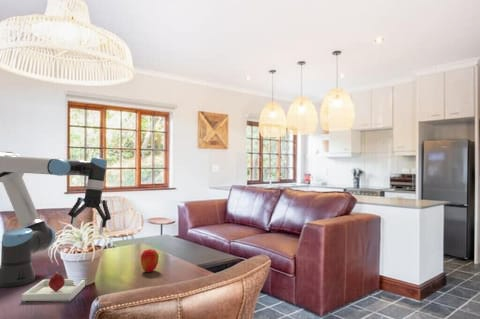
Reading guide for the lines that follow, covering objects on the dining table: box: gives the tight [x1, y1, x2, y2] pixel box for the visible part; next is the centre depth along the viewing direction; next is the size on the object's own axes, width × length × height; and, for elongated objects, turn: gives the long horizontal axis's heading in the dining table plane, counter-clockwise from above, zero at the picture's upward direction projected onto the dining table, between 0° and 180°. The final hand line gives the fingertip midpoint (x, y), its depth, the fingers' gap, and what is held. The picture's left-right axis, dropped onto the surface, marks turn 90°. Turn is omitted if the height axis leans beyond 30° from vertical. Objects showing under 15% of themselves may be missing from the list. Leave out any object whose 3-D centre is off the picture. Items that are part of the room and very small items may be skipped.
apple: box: [140, 249, 159, 273], centre depth 172 cm, size 9×9×12 cm
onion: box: [49, 271, 65, 292], centre depth 139 cm, size 6×6×8 cm
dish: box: [21, 278, 86, 303], centre depth 139 cm, size 18×18×3 cm
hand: (86, 232), depth 160 cm, fingers open, 13 cm apart
